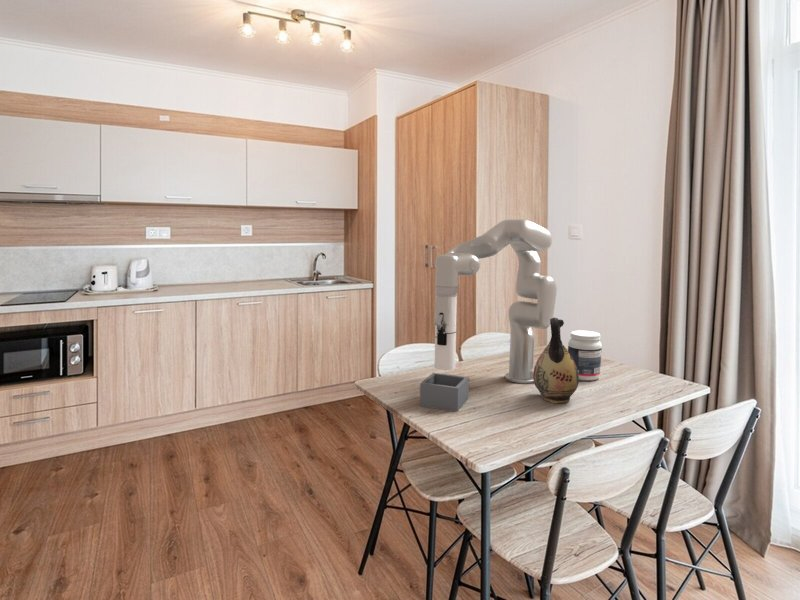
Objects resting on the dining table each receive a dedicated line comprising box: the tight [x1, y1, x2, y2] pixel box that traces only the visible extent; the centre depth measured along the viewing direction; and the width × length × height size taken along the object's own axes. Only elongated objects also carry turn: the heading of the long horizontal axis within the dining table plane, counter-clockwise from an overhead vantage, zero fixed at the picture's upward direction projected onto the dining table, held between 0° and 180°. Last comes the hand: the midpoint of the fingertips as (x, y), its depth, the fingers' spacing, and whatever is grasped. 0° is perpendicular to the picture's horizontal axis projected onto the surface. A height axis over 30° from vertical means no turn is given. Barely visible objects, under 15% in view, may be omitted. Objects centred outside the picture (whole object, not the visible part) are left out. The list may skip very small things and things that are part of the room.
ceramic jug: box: [533, 317, 580, 404], centre depth 172 cm, size 17×15×30 cm
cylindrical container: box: [434, 295, 458, 371], centre depth 167 cm, size 7×7×25 cm
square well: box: [419, 372, 470, 412], centre depth 170 cm, size 13×13×8 cm
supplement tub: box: [567, 329, 603, 382], centre depth 199 cm, size 13×13×18 cm
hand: (445, 342), depth 168 cm, fingers closed on cylindrical container, 7 cm apart
